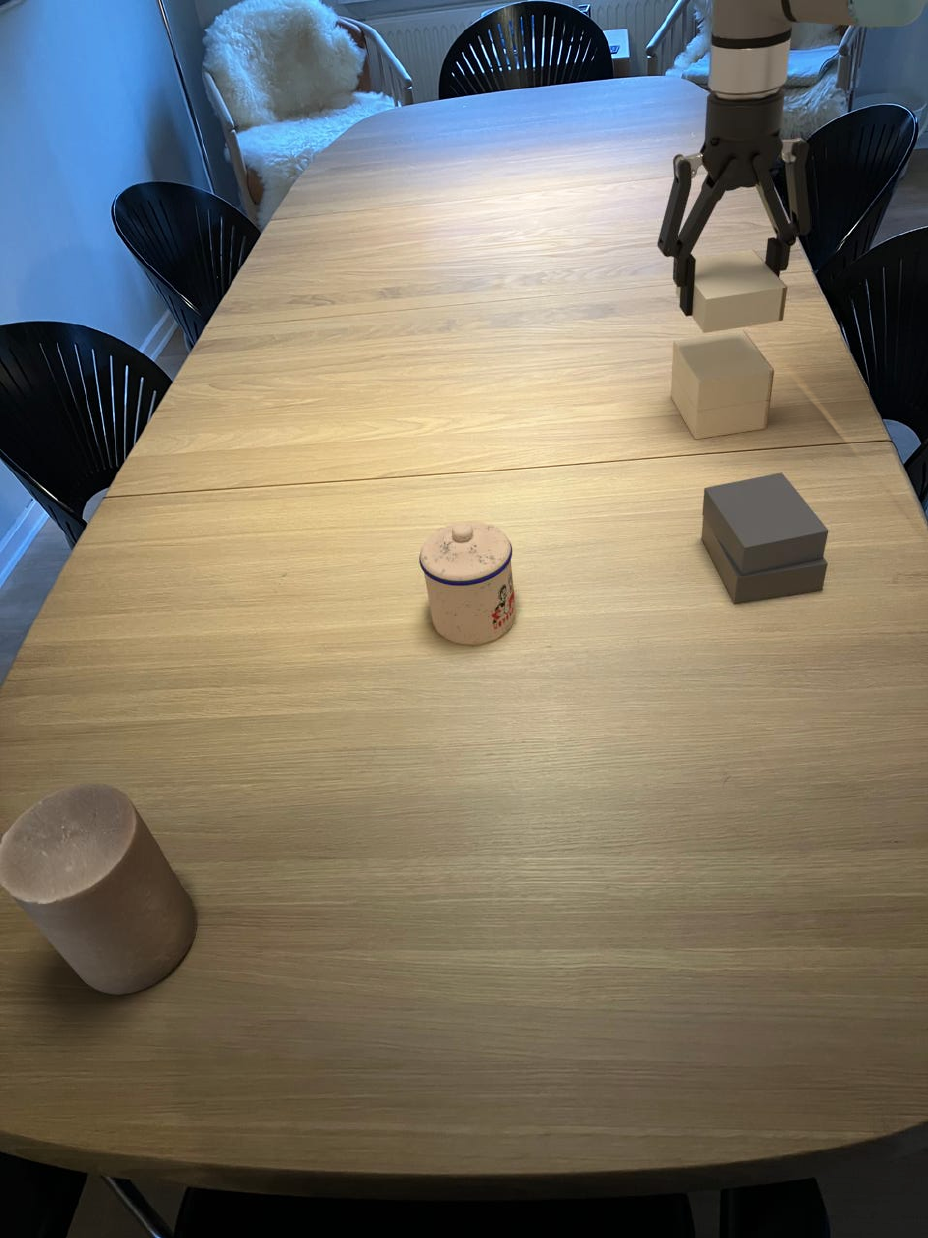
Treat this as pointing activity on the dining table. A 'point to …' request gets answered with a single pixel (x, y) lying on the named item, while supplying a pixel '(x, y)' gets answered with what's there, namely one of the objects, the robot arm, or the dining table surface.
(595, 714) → the dining table surface
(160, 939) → the pillar candle
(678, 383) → the cream books
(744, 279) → the cream book
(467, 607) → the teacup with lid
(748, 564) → the grey books
